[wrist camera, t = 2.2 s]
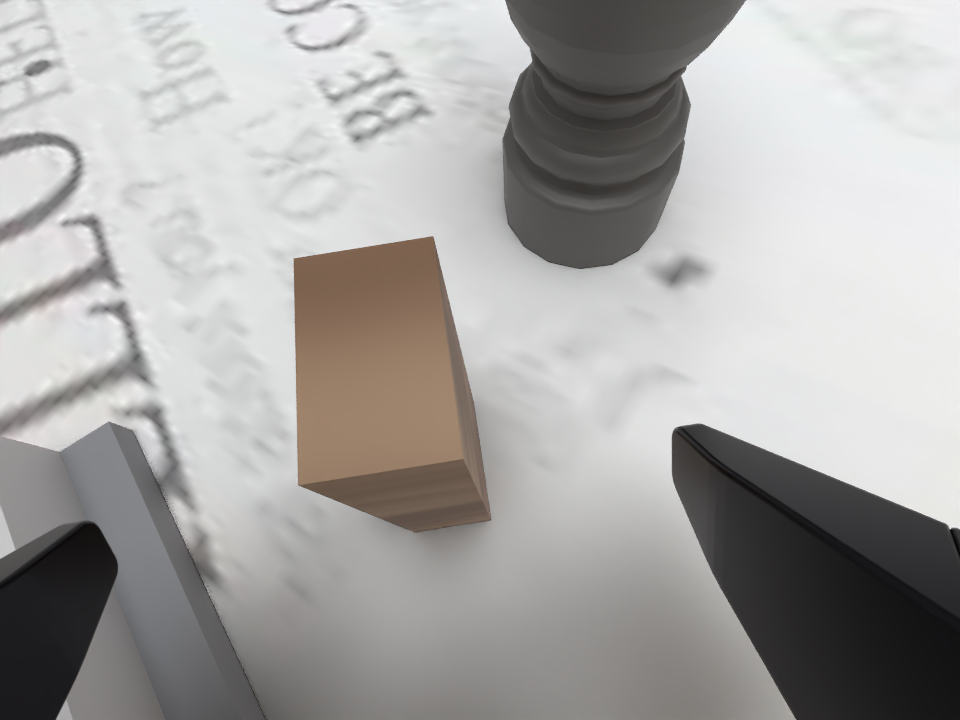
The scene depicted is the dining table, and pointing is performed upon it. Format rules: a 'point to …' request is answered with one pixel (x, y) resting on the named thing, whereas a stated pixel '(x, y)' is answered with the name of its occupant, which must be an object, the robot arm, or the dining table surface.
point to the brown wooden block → (385, 388)
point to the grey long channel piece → (128, 584)
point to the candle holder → (600, 121)
